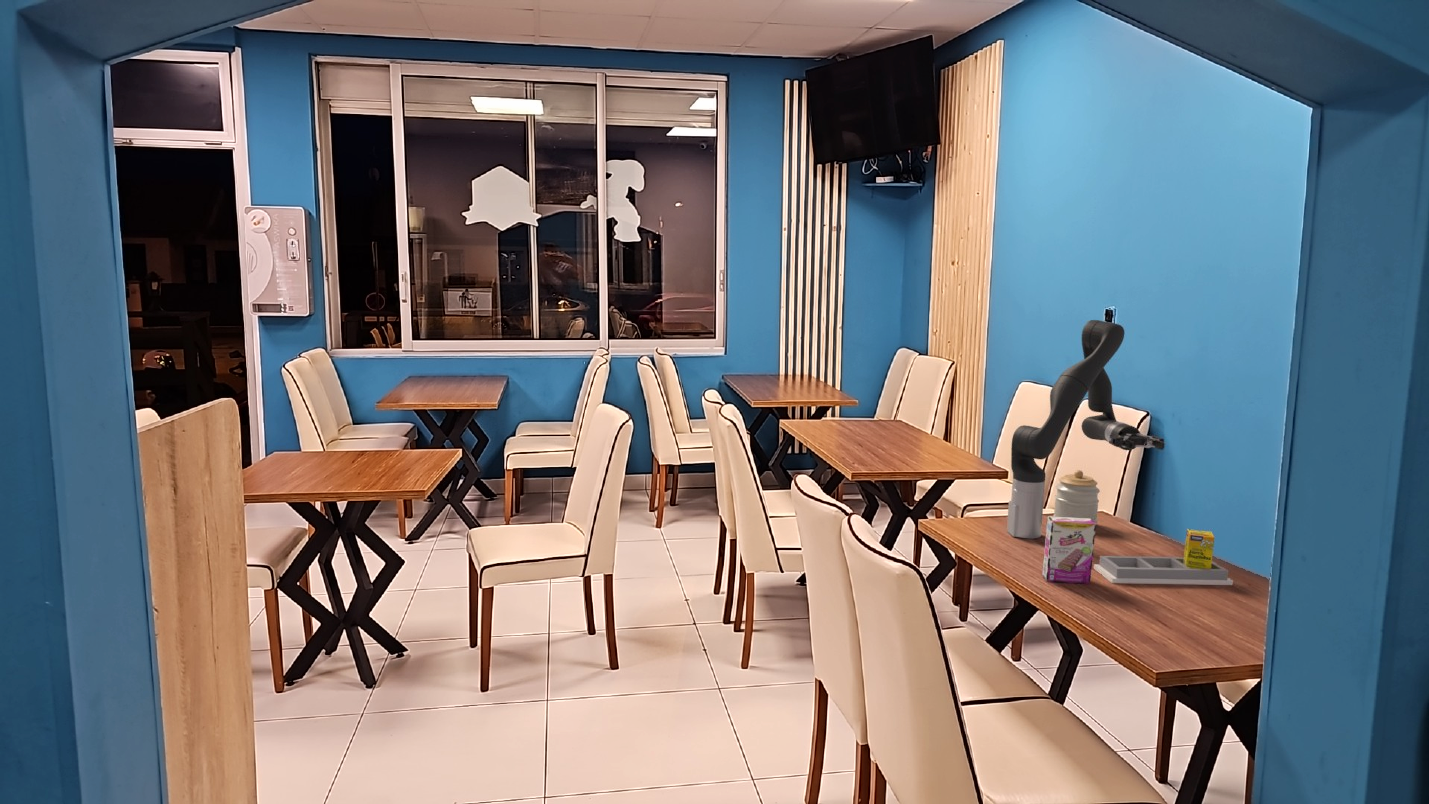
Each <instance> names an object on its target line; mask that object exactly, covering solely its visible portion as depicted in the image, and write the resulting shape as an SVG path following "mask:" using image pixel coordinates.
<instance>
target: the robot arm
mask: <svg viewBox="0 0 1429 804" xmlns="http://www.w3.org/2000/svg"><path fill="white" fill-rule="evenodd" d="M1124 339H1125V328H1124V326H1122V325H1121V324H1119V323H1115V322H1110V321H1109V322H1108V321H1104V320H1103V321H1102V320H1097V319H1091V320H1089V321H1087V322H1086V323H1085V324H1084V326H1083V328H1082V332H1081V347H1082V353H1083V359H1082V360H1080V361H1079V362H1077V363H1075V364H1073V365H1071V366H1070V367H1068V368H1067V369H1065V370H1064V371H1063V372H1062V373H1061V374H1060V375H1059V377H1058V378H1057V380H1056V381H1055V383H1054V384H1053V386H1052V388H1051V389H1050V393H1049V405H1050V411H1049V415H1048V418H1047V419H1046V420H1045V422H1044V423H1043V425H1042V426H1041V427H1036V426H1032V425H1026V424H1025V425H1020V426H1018V427H1017V428H1016V429H1015V431H1014V432H1013V434H1012V438H1011V448H1010V449H1011V451H1010V453H1011V459H1010V467H1011V472H1012V484H1011V485H1012V486H1011V500H1009V501H1008V507H1007V508H1008V509H1007V510H1008V511H1007V524H1006V532H1007V533H1008V534H1009V535H1010V536H1012V537H1014V538H1015V537H1016V538H1021V539H1022V538H1023V539H1038V538H1041V536H1042V528H1043V527H1042V526H1043V525H1042V524H1043V513H1044V512H1043V511H1044V501H1045V498H1044V497H1045V487H1046V470H1044V469H1042V467H1040V466H1039V465H1038V464H1037V462H1036V461H1035V459H1036V460H1045V459H1047V458H1048V457H1049V456H1050V455H1051V454H1052V452H1053V451H1054V449H1055V447H1056V445H1057V443H1058V441H1059V439H1060V437H1061V436H1062V433H1063V432H1064V430H1065V427H1066V426H1067V424H1068V423H1069V420H1070V419H1071V418H1072V416H1073V415H1074V412H1075V411H1076V409H1077V408H1078V407H1079V405H1080V403H1081V402H1082V401H1083V400H1084V398H1085V396H1086V395H1087V406H1088V409H1089V410H1090V411H1092V412H1095V413H1101V414H1098V415H1092V416H1088V417H1085V419H1084V420H1083V421H1082V423H1081V431H1082V433H1083V434H1084V435H1085V437H1086V438H1088V439H1091V440H1094V441H1106V442H1108V444H1110V445H1112V446H1114V447H1115V448H1119V449H1121V450H1124V451H1132V450H1134V449H1136V448H1146V449H1150V448H1154V449H1157V450H1160V451H1164V449H1165V444H1166V443H1165V438H1162V437H1158V436H1156V435H1154V434H1152V435H1145V434H1142V433H1141V431H1140V430H1139V429H1138V428H1137V427H1135V426H1133V425H1131V424H1128V423H1125V422H1121V421H1117V419H1116V416H1115V412H1114V409H1113V387H1112V385H1113V384H1112V382H1111V380H1110V377H1109V375H1108V373H1107V371H1106V370H1105V366H1107V364H1108V363H1109V362H1110V360H1111V359H1112V357H1114V355H1115V354H1116V353H1117V352H1118V350H1119V349H1120V347H1121V345H1122V343H1123V341H1124Z"/></svg>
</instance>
